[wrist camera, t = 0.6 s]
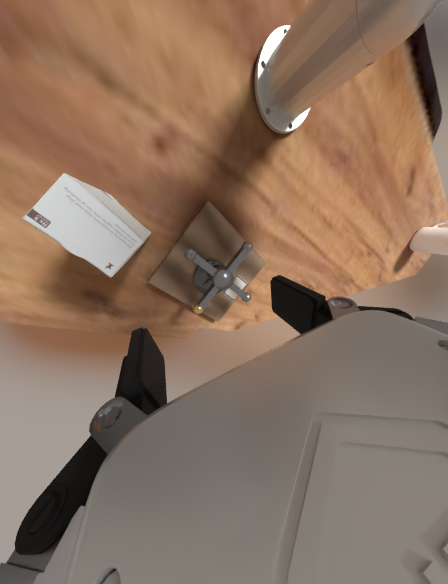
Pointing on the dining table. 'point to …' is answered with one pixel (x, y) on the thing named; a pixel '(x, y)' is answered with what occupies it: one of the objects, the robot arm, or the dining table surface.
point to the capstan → (216, 276)
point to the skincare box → (88, 224)
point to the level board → (210, 246)
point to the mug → (431, 240)
